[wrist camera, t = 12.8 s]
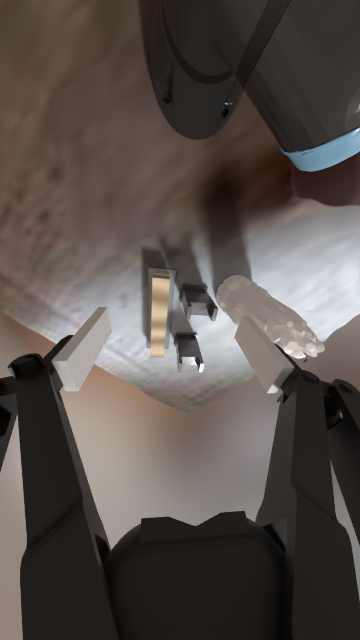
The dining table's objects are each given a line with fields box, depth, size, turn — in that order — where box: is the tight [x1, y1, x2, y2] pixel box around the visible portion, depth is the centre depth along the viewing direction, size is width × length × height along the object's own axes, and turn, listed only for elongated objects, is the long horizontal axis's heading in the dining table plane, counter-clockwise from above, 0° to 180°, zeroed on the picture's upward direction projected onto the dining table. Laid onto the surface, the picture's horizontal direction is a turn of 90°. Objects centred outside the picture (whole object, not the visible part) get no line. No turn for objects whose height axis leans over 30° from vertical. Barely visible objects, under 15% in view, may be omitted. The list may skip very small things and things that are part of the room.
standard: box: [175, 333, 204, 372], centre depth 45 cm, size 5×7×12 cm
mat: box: [147, 267, 176, 349], centre depth 45 cm, size 26×7×1 cm, turn 173°
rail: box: [150, 273, 170, 357], centre depth 43 cm, size 24×4×5 cm, turn 173°
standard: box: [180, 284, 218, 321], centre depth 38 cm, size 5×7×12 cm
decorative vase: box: [216, 275, 325, 359], centre depth 33 cm, size 11×11×25 cm
